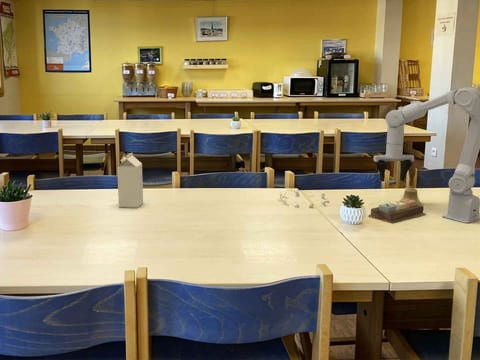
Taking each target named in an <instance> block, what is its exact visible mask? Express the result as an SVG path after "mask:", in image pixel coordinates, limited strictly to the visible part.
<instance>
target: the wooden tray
mask: <svg viewBox="0 0 480 360" xmlns="http://www.w3.org/2000/svg"><path fill="white" fill-rule="evenodd" d="M424 207H425V206H424V205H422V204H421V205H417V204H416V206H414V207H410V208H406V209H402V210H397V211H393V212H389V213H387V212H384V211H380V210H379V206H378V207H373V208H370V214H368V217H369V218H372V219H374V220H375V219H376V220H378V221H382V222H386V223H388V224H396V223H400V222H403V221H407V220H411V219H414V218H419V217H423V216H425V215H426V213H425V212H424V210H425V209H424Z"/></svg>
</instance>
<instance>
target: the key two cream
mask: <svg viewBox="0 0 480 360" xmlns="http://www.w3.org/2000/svg"><path fill="white" fill-rule="evenodd" d="M389 204H391V205H395V206H396V211H397V210H402V209H406V203H402V202H399V200H398V201H397V200H396V201H393V202H389Z"/></svg>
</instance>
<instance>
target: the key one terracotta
mask: <svg viewBox="0 0 480 360" xmlns="http://www.w3.org/2000/svg"><path fill="white" fill-rule="evenodd" d="M399 201H400V202H402V203H406V208H410V207H414V206H416V201H413V200H409V199H404V200H401V199H400V200H399Z"/></svg>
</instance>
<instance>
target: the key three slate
mask: <svg viewBox="0 0 480 360" xmlns="http://www.w3.org/2000/svg"><path fill="white" fill-rule="evenodd" d="M378 207H379V210H380V211H384V212H387V213H389V212H393V211H396V206H395V205H391V204H390V203H382V204H379V205H378Z"/></svg>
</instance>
